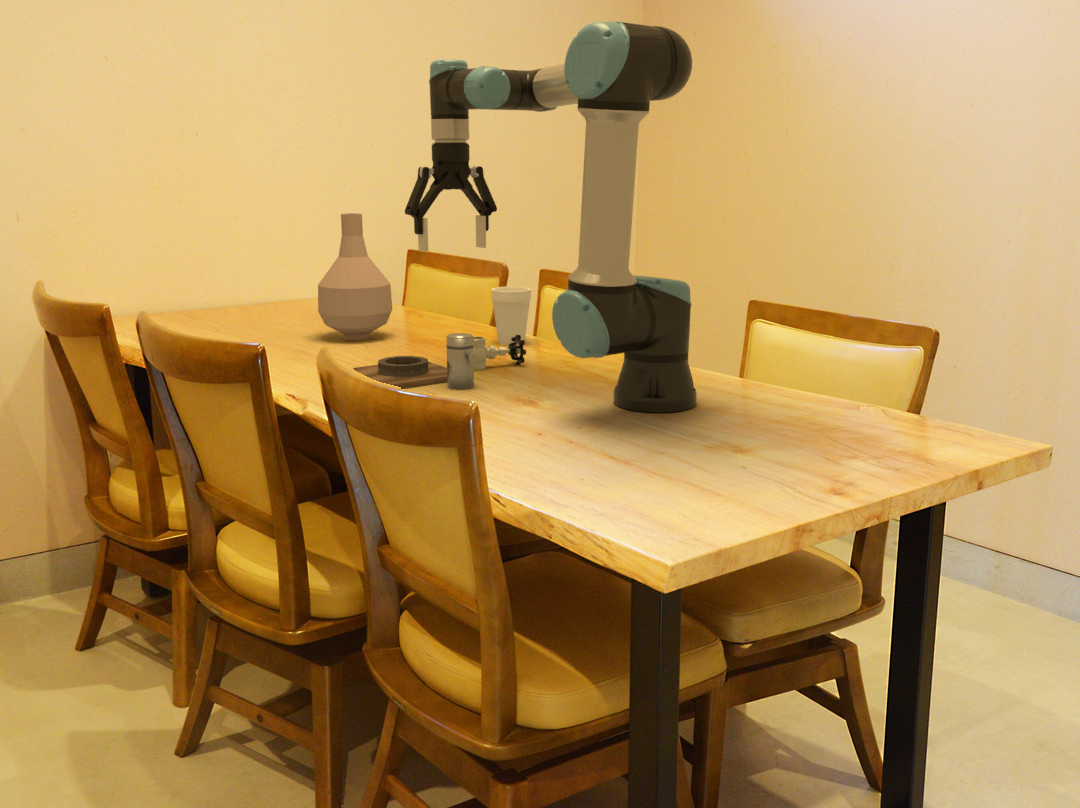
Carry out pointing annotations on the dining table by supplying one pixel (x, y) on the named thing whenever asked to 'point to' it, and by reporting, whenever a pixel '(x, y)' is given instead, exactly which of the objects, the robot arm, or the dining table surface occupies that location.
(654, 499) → the dining table surface
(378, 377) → the ring block
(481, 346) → the valve
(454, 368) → the cylinder
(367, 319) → the vase
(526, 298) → the foam cup
